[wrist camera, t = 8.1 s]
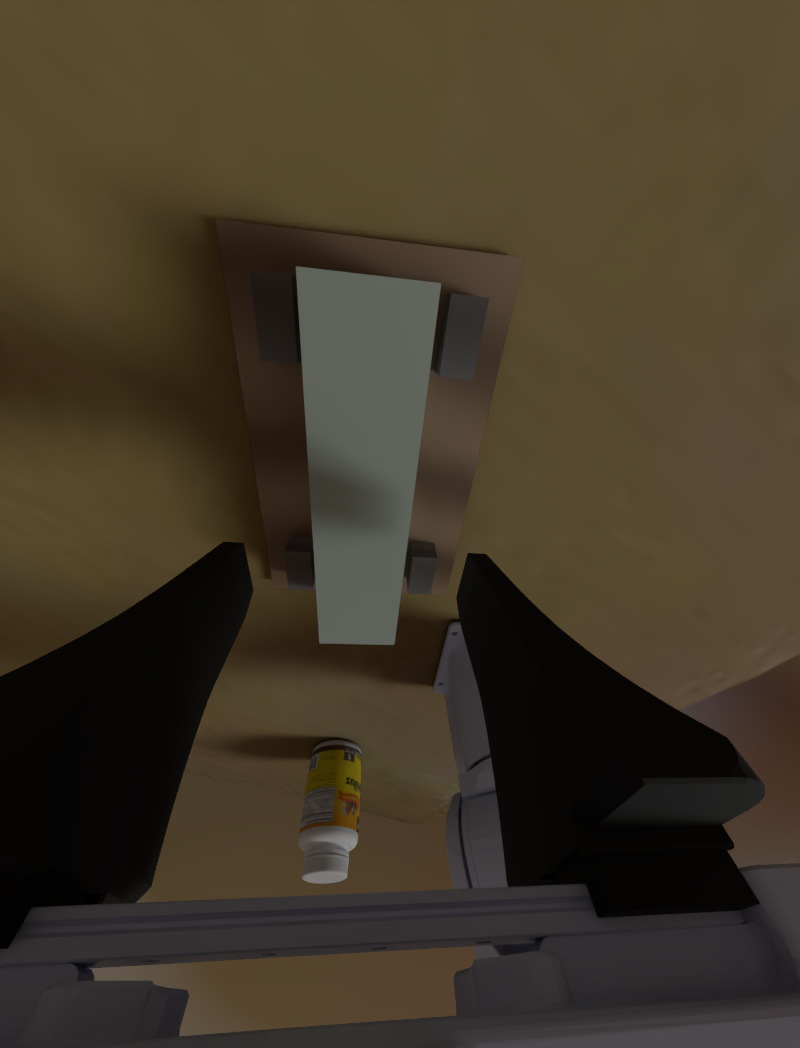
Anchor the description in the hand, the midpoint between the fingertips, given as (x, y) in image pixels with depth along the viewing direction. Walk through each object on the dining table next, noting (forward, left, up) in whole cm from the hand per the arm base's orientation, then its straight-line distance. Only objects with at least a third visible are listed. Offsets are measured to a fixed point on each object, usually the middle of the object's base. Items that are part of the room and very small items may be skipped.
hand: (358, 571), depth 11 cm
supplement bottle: (-35, +2, -10) cm, 36 cm away
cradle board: (0, 0, -9) cm, 9 cm away
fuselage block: (0, 0, -9) cm, 9 cm away
